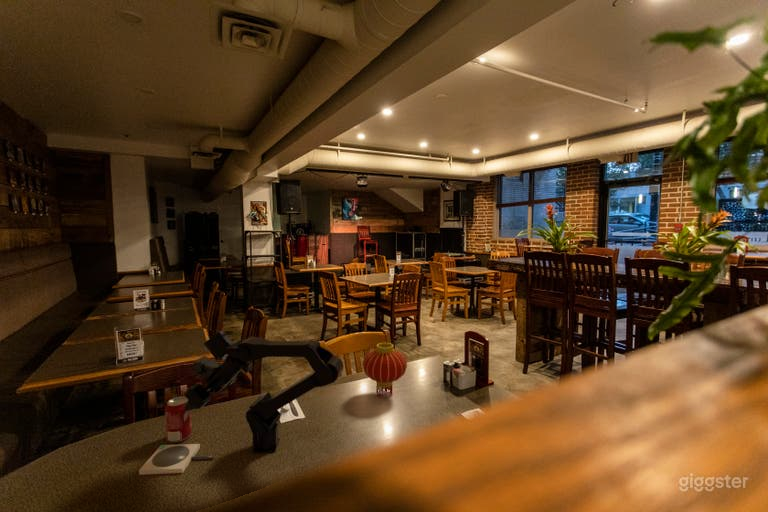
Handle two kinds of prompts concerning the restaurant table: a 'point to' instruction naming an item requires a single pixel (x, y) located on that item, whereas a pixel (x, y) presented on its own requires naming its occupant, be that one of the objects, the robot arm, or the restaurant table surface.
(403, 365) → the lantern
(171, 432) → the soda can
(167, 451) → the charging dock
